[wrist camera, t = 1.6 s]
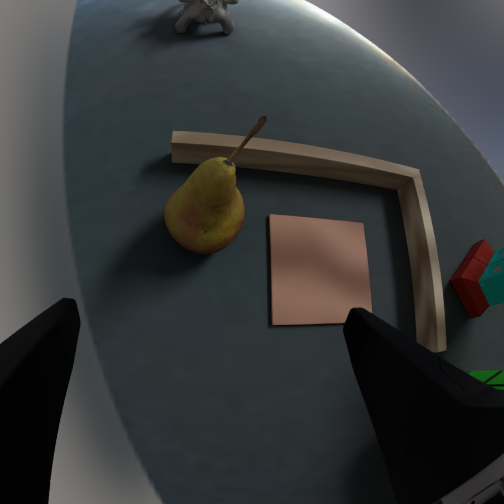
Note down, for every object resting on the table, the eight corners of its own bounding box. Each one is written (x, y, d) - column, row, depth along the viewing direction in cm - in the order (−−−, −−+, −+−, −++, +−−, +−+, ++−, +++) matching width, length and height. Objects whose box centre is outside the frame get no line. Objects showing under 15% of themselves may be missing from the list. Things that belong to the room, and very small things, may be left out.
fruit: (172, 192, 25) (169, 86, 13) (240, 202, 26) (281, 103, 14) (161, 257, 23) (141, 178, 12) (234, 266, 24) (278, 197, 13)
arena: (425, 351, 25) (446, 350, 22) (158, 369, 20) (154, 373, 18) (402, 182, 31) (418, 169, 28) (173, 151, 26) (173, 131, 23)
